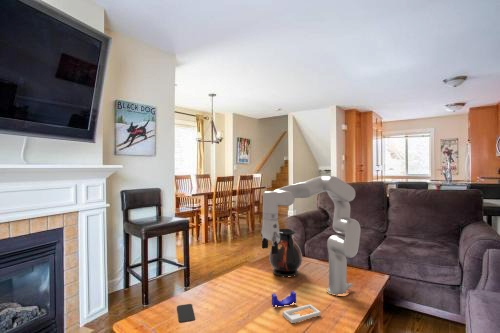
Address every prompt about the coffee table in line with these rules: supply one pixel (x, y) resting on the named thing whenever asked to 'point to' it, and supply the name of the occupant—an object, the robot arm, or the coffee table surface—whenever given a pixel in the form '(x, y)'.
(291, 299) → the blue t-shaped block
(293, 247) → the amphora vase
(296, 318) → the tray
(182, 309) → the phone
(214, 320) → the coffee table surface
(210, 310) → the coffee table surface
